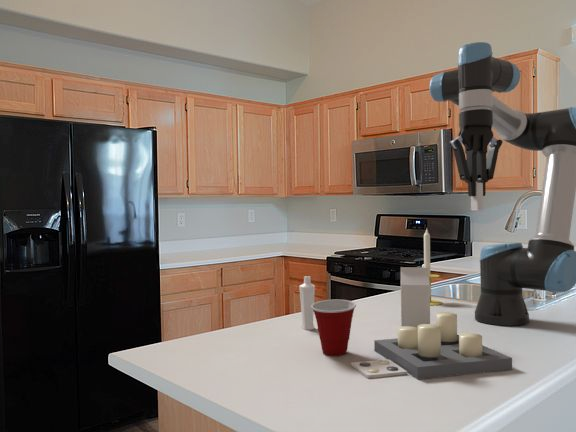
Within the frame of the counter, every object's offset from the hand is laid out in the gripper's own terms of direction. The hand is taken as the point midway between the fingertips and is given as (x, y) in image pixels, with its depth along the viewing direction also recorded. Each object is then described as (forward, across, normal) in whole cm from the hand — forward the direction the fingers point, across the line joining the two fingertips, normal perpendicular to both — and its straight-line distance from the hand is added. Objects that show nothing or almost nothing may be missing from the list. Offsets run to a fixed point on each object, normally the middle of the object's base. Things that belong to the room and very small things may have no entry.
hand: (477, 210), depth 125 cm
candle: (+34, -18, -59) cm, 70 cm away
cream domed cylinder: (+31, +18, +9) cm, 36 cm away
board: (+34, +13, +4) cm, 36 cm away
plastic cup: (+34, +34, -8) cm, 48 cm away
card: (+34, +29, +7) cm, 45 cm away
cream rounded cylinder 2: (+33, +8, +8) cm, 35 cm away
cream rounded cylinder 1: (+31, +8, -2) cm, 32 cm away
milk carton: (+34, +10, -14) cm, 38 cm away
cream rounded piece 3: (+33, +18, -1) cm, 38 cm away
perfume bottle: (+34, +33, -34) cm, 58 cm away
